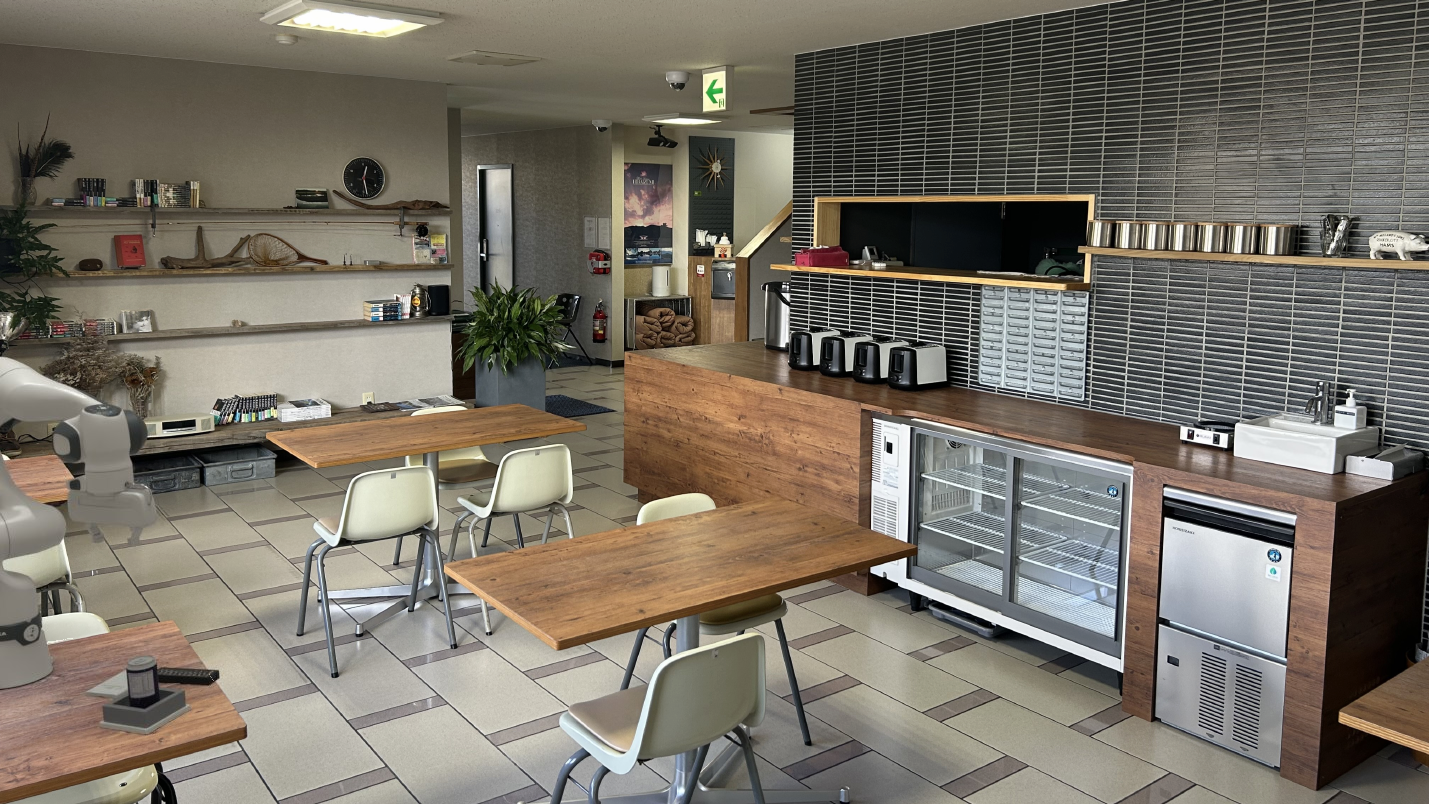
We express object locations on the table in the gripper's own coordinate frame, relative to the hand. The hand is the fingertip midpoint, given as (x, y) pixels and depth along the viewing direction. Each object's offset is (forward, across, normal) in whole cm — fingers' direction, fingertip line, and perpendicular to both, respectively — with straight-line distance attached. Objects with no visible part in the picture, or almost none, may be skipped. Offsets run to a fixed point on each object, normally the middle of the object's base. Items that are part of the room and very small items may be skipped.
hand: (115, 543), depth 225 cm
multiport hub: (+36, -5, -11) cm, 38 cm away
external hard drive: (+36, +7, -5) cm, 37 cm away
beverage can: (+34, -11, +7) cm, 37 cm away
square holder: (+35, -11, +7) cm, 37 cm away
